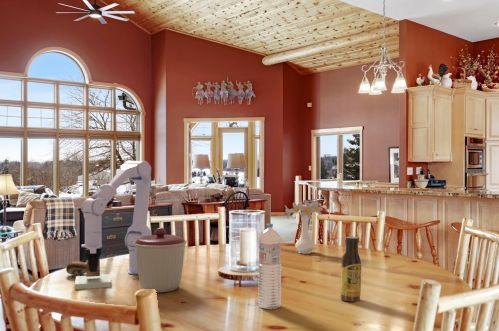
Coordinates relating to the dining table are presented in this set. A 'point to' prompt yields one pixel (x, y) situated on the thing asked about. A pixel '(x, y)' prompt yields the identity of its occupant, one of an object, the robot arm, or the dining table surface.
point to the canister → (160, 260)
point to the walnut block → (91, 274)
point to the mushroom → (76, 268)
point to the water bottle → (269, 269)
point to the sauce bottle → (351, 271)
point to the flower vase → (304, 224)
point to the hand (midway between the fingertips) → (93, 270)
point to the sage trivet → (92, 282)
